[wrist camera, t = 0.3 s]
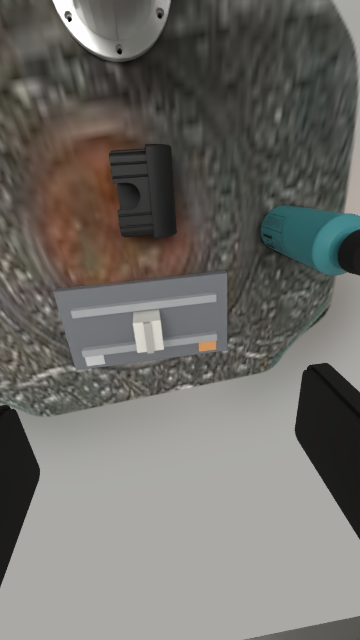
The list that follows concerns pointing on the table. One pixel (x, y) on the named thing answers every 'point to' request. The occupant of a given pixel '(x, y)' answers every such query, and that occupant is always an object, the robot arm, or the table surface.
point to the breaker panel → (140, 295)
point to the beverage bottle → (315, 238)
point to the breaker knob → (148, 331)
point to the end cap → (145, 190)
